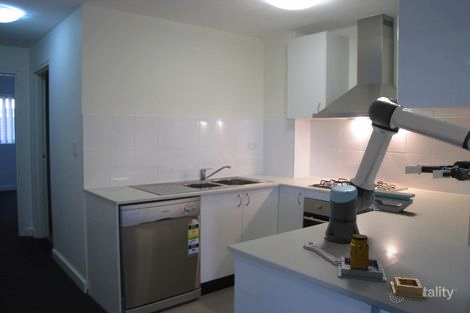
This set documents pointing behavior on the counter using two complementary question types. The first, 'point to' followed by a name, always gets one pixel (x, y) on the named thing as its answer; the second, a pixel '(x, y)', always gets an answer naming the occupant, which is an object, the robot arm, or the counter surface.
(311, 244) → the adjustable wrench
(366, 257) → the condiment
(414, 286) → the small brown compartment box
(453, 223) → the counter surface
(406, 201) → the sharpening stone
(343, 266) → the large collar
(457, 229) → the counter surface
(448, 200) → the counter surface
